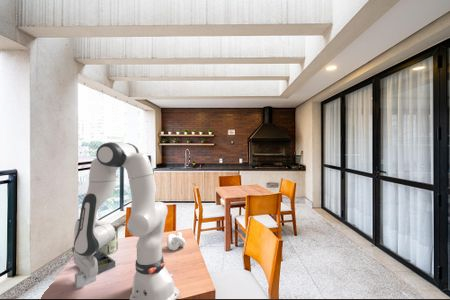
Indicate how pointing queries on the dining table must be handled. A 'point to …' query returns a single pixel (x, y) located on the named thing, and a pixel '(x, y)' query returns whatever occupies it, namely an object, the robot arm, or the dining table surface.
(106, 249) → the coffee can
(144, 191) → the robot arm
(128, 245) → the dining table surface
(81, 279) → the grey rectangular block
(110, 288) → the dining table surface
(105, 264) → the rack
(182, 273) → the dining table surface
